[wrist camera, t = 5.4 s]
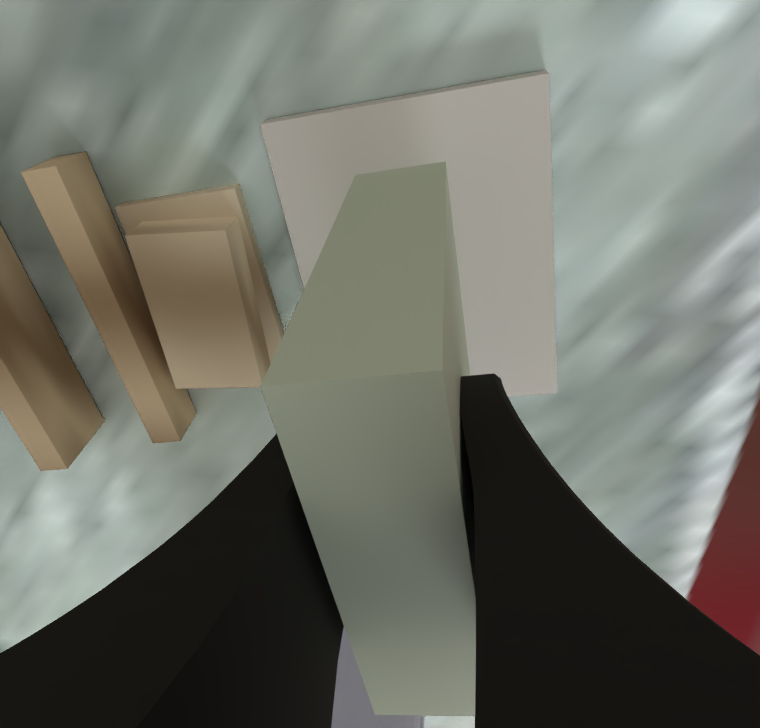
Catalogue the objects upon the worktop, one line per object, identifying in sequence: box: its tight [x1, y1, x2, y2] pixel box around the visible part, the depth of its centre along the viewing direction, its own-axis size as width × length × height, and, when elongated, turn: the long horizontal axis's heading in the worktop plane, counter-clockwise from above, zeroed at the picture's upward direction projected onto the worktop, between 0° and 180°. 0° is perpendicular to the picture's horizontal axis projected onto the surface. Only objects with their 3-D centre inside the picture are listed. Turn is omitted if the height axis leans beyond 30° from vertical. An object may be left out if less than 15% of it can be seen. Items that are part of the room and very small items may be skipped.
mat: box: [260, 70, 557, 397], centre depth 17 cm, size 9×7×1 cm
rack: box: [0, 152, 196, 471], centre depth 18 cm, size 9×5×2 cm, turn 10°
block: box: [261, 161, 476, 716], centre depth 12 cm, size 7×2×8 cm, turn 10°
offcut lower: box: [114, 184, 284, 363], centre depth 18 cm, size 6×4×1 cm, turn 10°
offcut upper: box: [125, 216, 271, 389], centre depth 17 cm, size 5×3×1 cm, turn 5°
